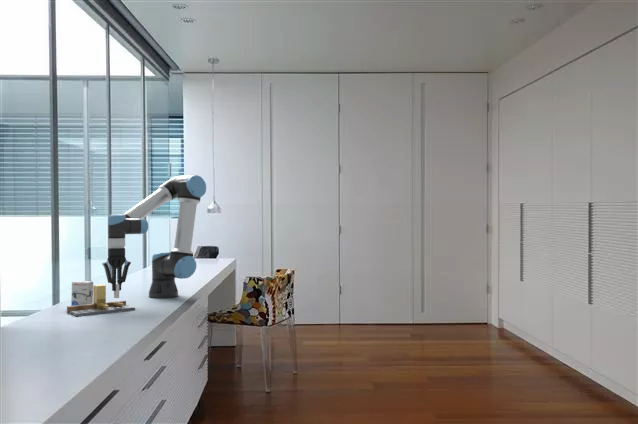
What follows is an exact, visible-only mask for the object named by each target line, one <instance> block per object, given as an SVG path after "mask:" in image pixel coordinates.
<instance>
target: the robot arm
mask: <svg viewBox="0 0 638 424" xmlns="http://www.w3.org/2000/svg"><path fill="white" fill-rule="evenodd" d="M206 192H207V184H206V181H205V180H204V178H203V177H202V176H201V175H198V174H197V175H196V174H187V175H186V174H185V175H176V176H174V177H172V178H170V179H169V180H166V182H163V183H162V184H161V185H159V186H158V188H157V190H155V191H154V192H153V193H151V194H150V195H149V196H147V197H145V199H142V201H140V202H138V203H137V204H135V205H134V206H133V207H132V208H130V209H129V210H127V211H126V212H125V213H123V214H110V215H108V219H107V220H108V221H107V227H108V228H107V233H108V234H107V235H108V237H107V242H108V245H107V246H108V247H109V248H108V252H107V256H108V257H107V260H106V261H105V262H102V263H101V265H102V266H103V268H104V272H105V275H106V280H107V282H108V283H109V284H111V290H112V291H113V298H114V299H120V291H122V284H123V283H125V282H126V280H127V277H128V276H127V275H128V271H129V267H130V265H131V263H132V262H131V261H129V260H127V258H126V248H125V246H126V235H142V234H146V233H147V232H148V231H149V222H148V220H147V219H146V217H147V216H149V215H150V214H151V213H153V212H154V211H155V210H157V209H158V208H160V207H162V206H163V205H164V204H165V203H167V202H169V203H170V202H171V201H173V200H174V199H177V201H179V210H178V217H177V224H176V232H175V239H174V246H173V248H172V249H171V250H170V251H168V252H159V253H154V254H153V255H152V256H151V259H152V260H151V284H150V286H149V290H148V297H149V298H154V299H165V298H166V299H169V298H175V297H178V296H179V290H178V286H177V284H176V279H180V280H182V279H189V278H190V277H192V276H193V275H194V273H195V272H196V269H197V261H196V259H195V257H194V252H193V251H192V244H193V236H194V229H195V227H194V226H195V220H196V213H197V212H196V211H197V205H199V204H200V202H201V199H202V197H203V196H204V195H205V194H206ZM110 267H111V268H110ZM110 269H111V271H110Z"/></svg>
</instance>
